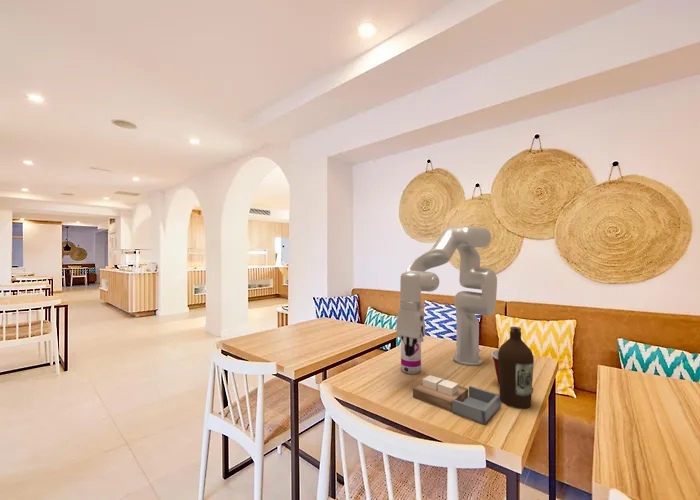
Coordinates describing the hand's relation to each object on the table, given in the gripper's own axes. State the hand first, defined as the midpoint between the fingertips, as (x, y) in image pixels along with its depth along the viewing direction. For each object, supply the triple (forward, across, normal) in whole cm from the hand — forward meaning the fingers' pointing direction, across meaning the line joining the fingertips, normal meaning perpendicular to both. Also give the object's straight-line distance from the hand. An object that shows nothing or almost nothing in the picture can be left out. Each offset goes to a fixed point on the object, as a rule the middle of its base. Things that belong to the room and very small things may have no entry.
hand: (409, 355), depth 117 cm
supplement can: (+12, +8, -14) cm, 20 cm away
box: (+12, -25, -1) cm, 27 cm away
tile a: (+9, -9, -1) cm, 13 cm away
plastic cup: (+11, -26, -26) cm, 38 cm away
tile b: (+9, -15, -1) cm, 17 cm away
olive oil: (+12, -32, -15) cm, 37 cm away
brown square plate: (+12, -12, -1) cm, 17 cm away
